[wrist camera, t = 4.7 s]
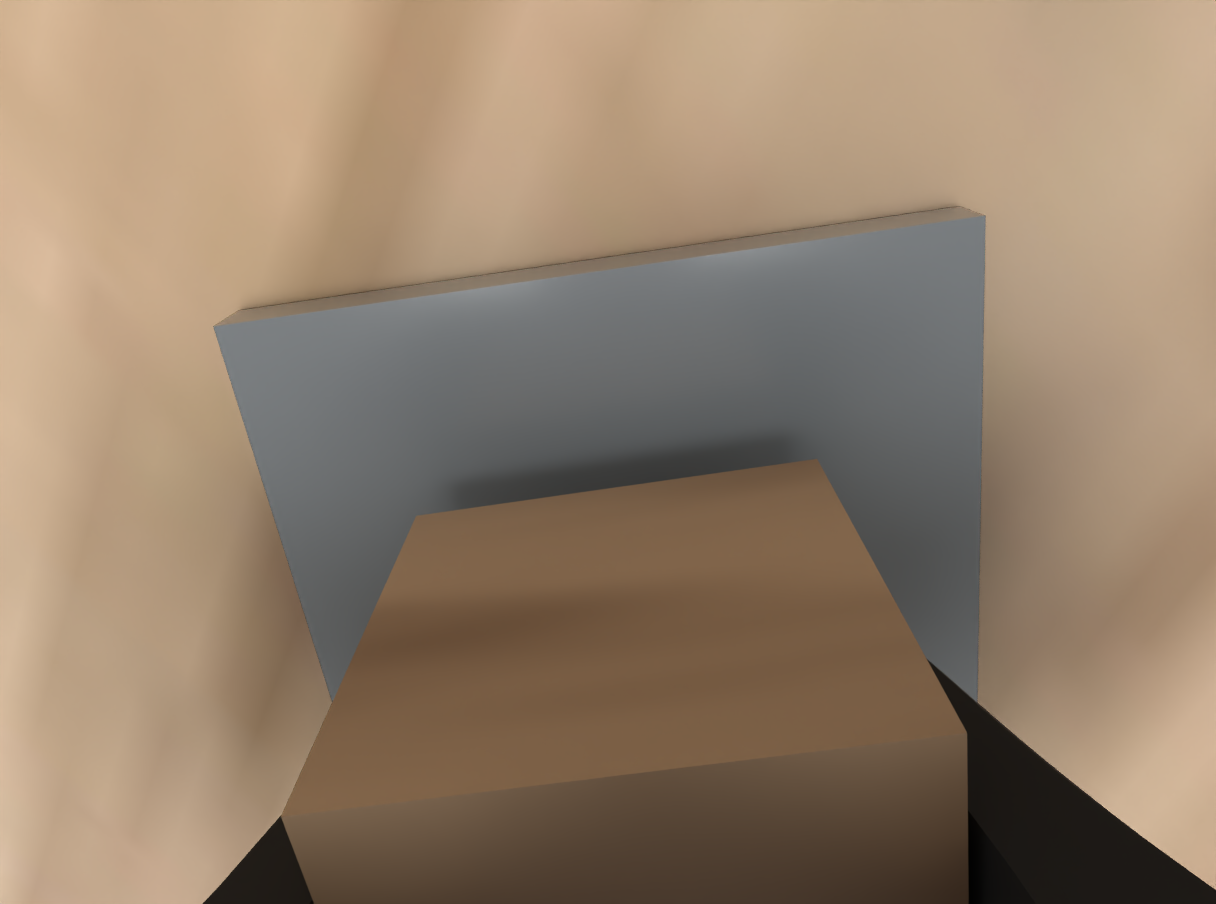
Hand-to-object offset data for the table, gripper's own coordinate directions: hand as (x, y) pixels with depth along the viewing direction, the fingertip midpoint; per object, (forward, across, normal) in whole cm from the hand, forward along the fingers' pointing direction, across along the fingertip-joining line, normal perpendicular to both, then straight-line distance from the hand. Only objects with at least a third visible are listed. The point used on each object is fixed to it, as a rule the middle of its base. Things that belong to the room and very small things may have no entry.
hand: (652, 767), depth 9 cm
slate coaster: (+4, 0, 0) cm, 4 cm away
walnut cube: (+2, 0, 0) cm, 2 cm away
